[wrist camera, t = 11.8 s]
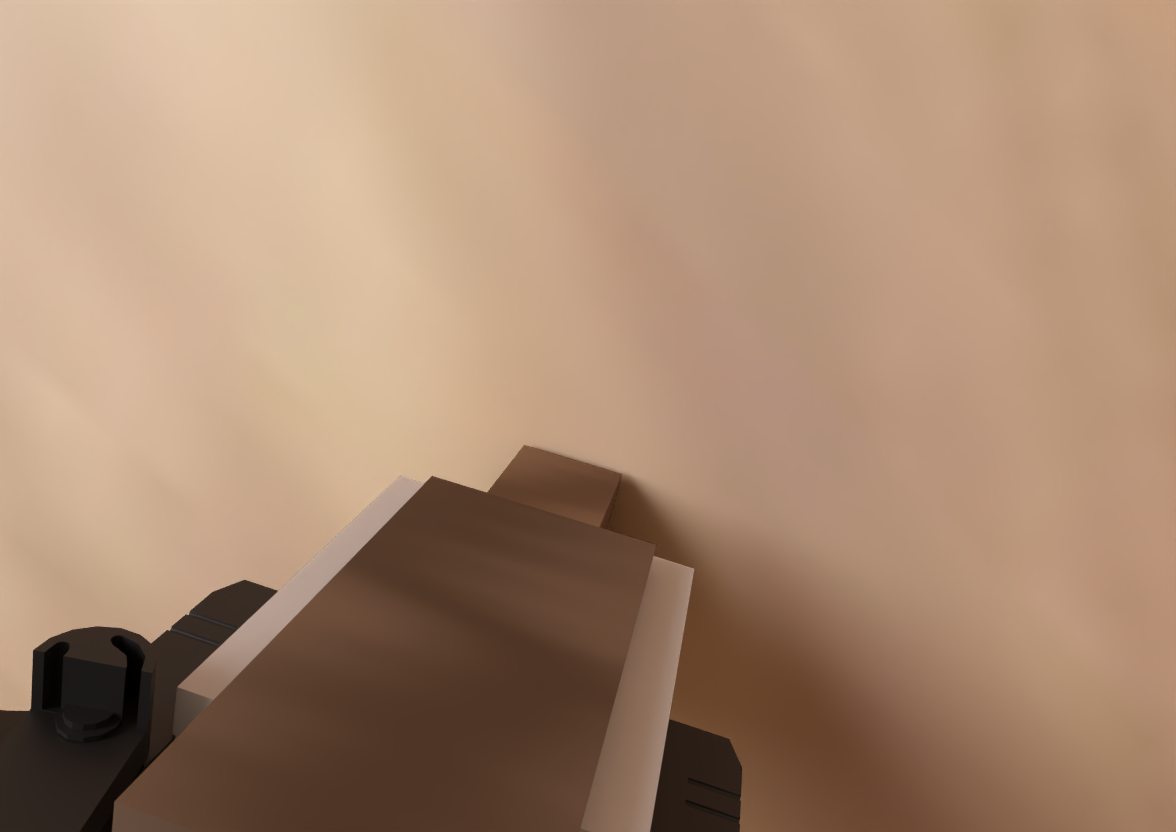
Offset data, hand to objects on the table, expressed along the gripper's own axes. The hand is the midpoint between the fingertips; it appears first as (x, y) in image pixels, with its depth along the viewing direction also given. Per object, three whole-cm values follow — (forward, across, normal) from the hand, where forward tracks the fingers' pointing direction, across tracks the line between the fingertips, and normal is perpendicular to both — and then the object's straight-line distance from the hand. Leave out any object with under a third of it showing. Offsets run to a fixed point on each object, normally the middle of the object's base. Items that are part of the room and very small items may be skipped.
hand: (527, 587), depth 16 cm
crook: (+2, +4, +11) cm, 12 cm away
